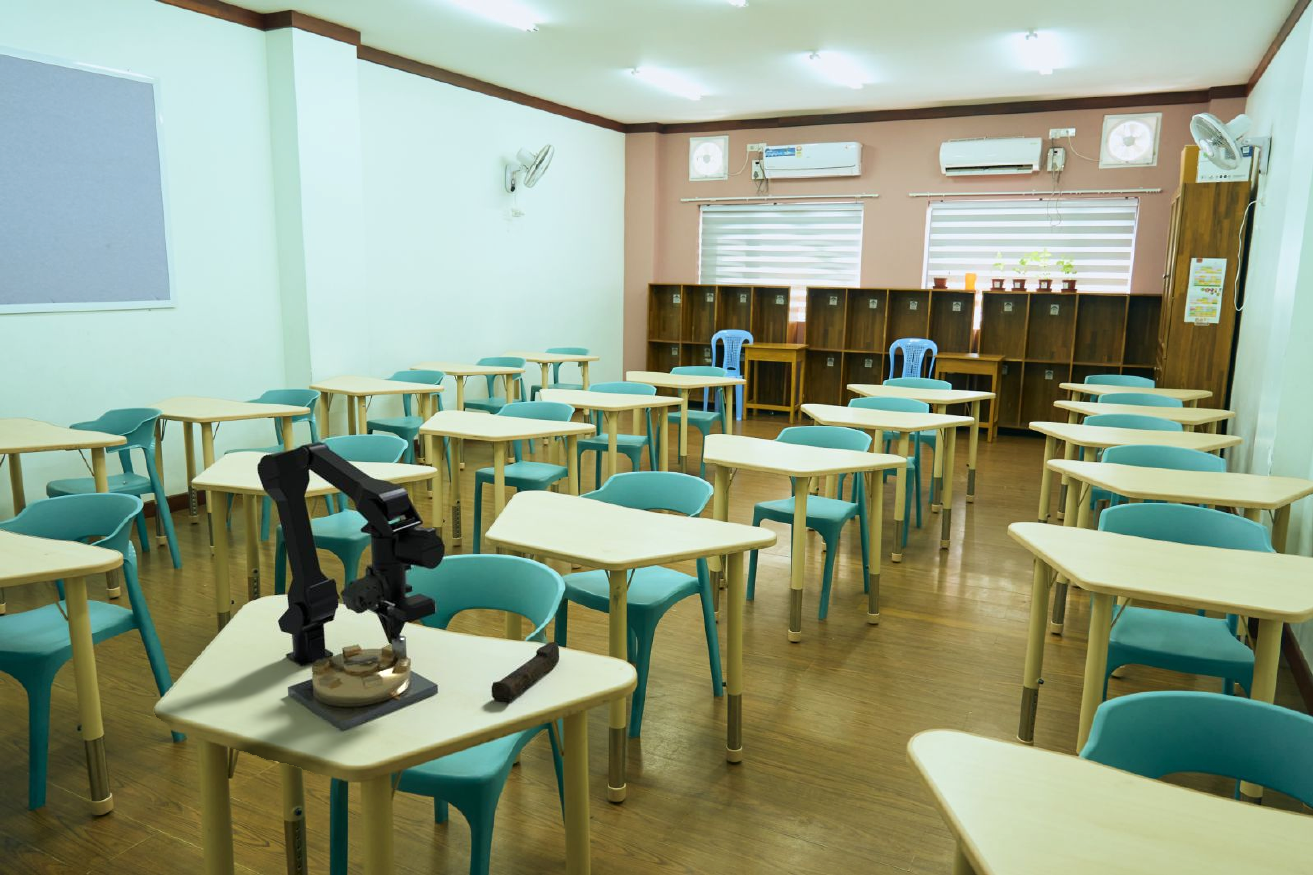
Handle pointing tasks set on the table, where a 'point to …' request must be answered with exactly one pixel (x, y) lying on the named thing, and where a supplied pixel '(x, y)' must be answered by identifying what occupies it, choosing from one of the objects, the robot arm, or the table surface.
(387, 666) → the ring nut
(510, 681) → the rough bark branch
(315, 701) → the base plate
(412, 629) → the table surface
